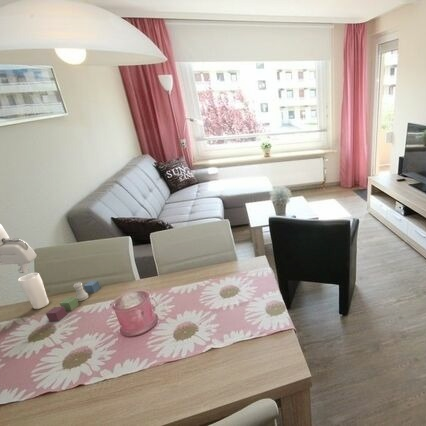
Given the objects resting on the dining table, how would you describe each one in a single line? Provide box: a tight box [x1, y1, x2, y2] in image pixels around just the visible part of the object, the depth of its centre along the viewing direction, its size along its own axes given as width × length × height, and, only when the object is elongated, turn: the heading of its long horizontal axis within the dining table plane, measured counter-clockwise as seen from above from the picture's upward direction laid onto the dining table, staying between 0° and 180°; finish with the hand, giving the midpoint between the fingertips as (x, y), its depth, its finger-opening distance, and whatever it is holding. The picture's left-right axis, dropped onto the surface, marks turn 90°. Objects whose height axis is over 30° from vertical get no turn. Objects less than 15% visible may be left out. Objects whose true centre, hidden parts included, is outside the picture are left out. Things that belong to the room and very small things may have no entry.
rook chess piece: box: [73, 281, 90, 302], centre depth 131 cm, size 4×4×8 cm
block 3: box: [83, 280, 101, 294], centre depth 138 cm, size 4×4×4 cm
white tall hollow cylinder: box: [17, 272, 50, 310], centre depth 127 cm, size 7×7×15 cm
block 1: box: [45, 306, 68, 322], centre depth 120 cm, size 4×4×4 cm
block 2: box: [59, 296, 80, 312], centre depth 126 cm, size 4×4×4 cm
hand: (10, 272), depth 101 cm, fingers open, 8 cm apart
